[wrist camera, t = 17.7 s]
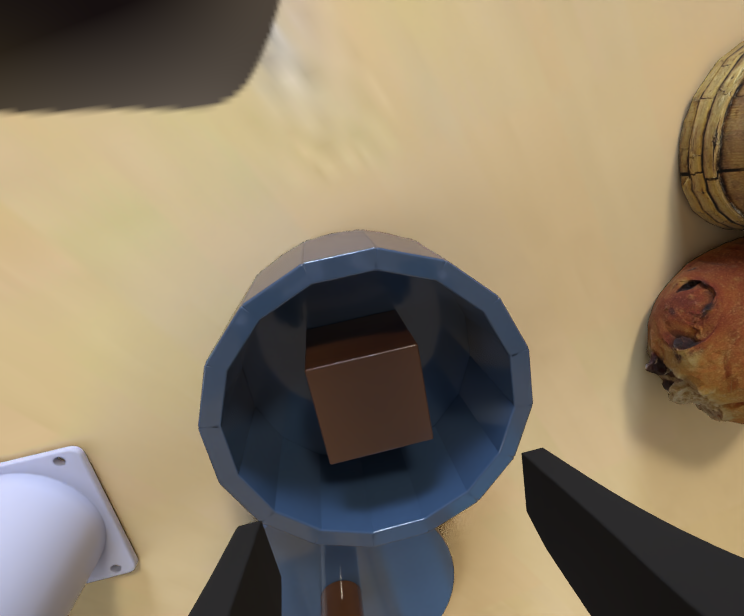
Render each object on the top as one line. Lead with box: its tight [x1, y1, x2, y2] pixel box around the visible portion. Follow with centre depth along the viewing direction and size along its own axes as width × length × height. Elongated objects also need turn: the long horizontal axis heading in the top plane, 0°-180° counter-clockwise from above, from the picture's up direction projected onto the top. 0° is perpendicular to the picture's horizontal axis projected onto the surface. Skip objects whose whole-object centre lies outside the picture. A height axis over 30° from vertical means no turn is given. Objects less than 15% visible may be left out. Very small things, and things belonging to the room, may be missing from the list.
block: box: [305, 310, 433, 465], centre depth 18 cm, size 4×4×4 cm
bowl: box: [198, 230, 533, 547], centre depth 18 cm, size 13×13×6 cm
